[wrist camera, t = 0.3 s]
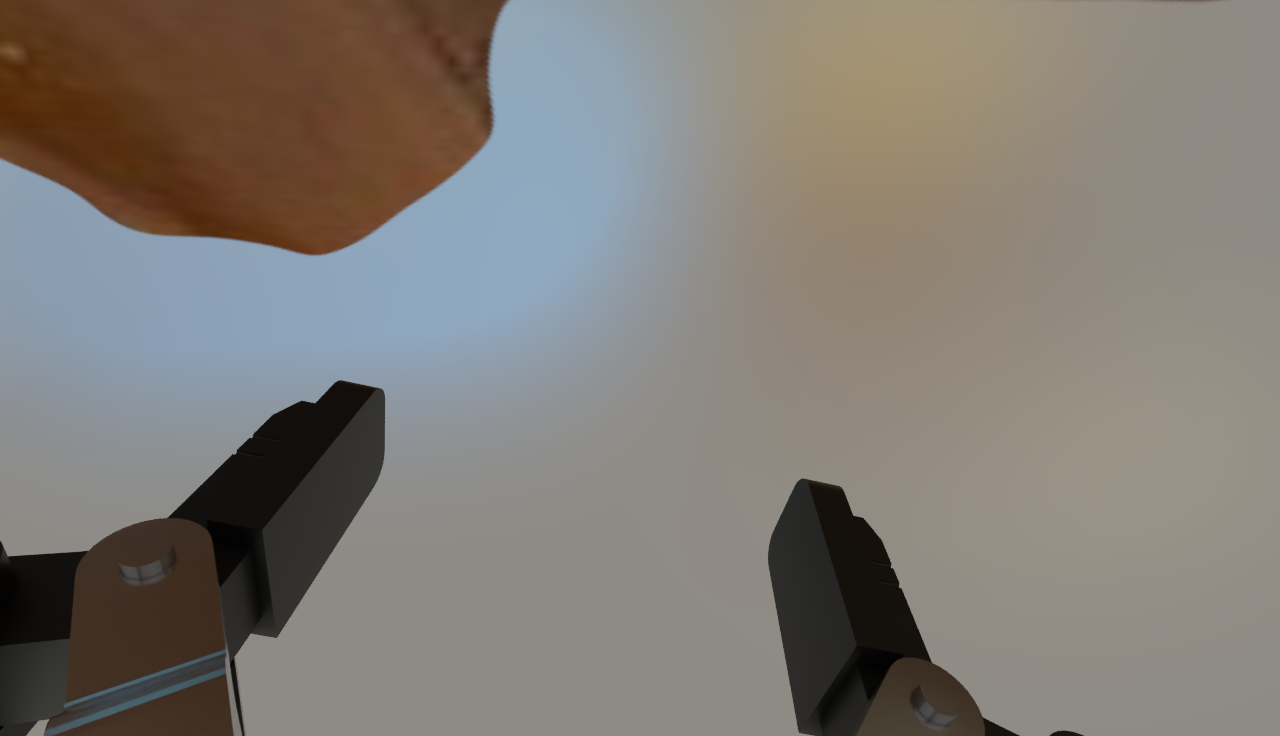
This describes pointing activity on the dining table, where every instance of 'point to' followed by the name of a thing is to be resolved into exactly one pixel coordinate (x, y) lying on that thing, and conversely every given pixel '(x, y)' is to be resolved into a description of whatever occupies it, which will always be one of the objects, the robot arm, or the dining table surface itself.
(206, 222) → the dining table surface
